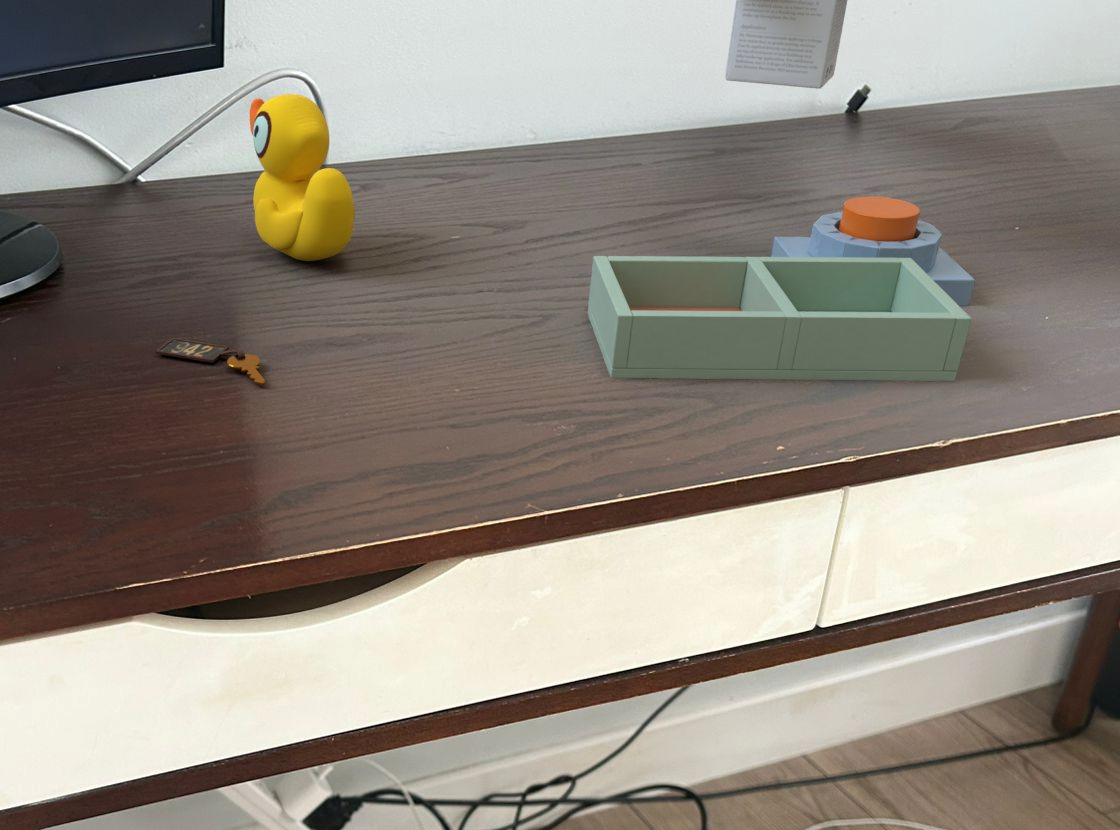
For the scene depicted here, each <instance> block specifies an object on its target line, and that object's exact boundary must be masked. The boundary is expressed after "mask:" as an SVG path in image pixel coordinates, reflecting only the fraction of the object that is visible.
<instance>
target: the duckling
mask: <svg viewBox="0 0 1120 830" xmlns="http://www.w3.org/2000/svg"><path fill="white" fill-rule="evenodd" d="M249 125H250V126H249V128H250V132H251V135H252V139H253V146H254V151H255V153H256V156H257V159H258V161H259V163H260V165H261V166H262V168H263V172H262V173H261V174H260V175H259V178H258V179H257V180H256V183H255V186H254V190H253V198H252V199H253V209H254V223H255V228H256V231H257V233H258V235H259V237H260V239H261V241H263V242H264V243H266V244H267V245H268V246H270V247H271V248H272V249H273V250H276V251H278V252H280V253H283V254H285V255H286V256H289V257H291V258H293V259H295V260H297V261H303V262H314V261H320V260H325V259H328V258H332V257H334V256H336V255H338V254H340V253H341V252H342V251H343V250H344V249H346V247H347V245H349V243H350V241H351V239H352V236H353V232H354V222H355V216H356V215H355V212H356V211H355V203H354V197H353V193H352V188H351V186H350V184H349V182H348V179H347V178H346V176H345V175H344V174H343V172H341V171H339V169H337V168H333V167H326V168H322V166H323V165H324V163H325V162H326V159H327V156H328V153H329V149H330V132H329V126H328V123H327V120H326V118H325V115H324V113H323V112H322V110H321V108H320V107H319V106H318V105H317V104H316V102H314V101H313V100H312V99H310V98H308V97H307V96H304V95H303V94H302V95H301V94H296V93H284V94H280V95H277V96H273V97H271V98H269V99H268V100H266V101H264V100H263V99H262V98H255V99H253V100H252V102H251V104H250V108H249ZM320 168H322V169H320Z"/></svg>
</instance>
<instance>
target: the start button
mask: <svg viewBox="0 0 1120 830" xmlns="http://www.w3.org/2000/svg"><path fill="white" fill-rule="evenodd" d="M842 211H843V212H842ZM842 211H841V212H842V217H841V222H840V226H839V232H841V233H844V234H847V235H849V236H852V237H855V238H859V239H865V240H871V241H878V242H902V241H907V240H911V239H914V235H915V231H916V227H917V223H918V220H919V219H920V215H921V214H920V213H921V210H920V207H918V205H915V204H913V203H912V202H909V201H905V200H902V199H898V198H894V197H893V198H892V197H886V196H858V197H853V198H850V199H847V200H846V201H845V202H844V203H843V207H842Z"/></svg>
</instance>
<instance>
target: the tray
mask: <svg viewBox="0 0 1120 830" xmlns="http://www.w3.org/2000/svg"><path fill="white" fill-rule="evenodd" d="M591 267H592V268H591V277H590V284H589V293H588V294H589V296H588V305H587V316H588V319H589V322H590V324H591V327H592V330H593V333H594V335H595V339H596V341H597V343H598V347H599V349H600V352H601V355H602V357H603V358H602V359H603V361H604V363H605V366H606V369H607V372H608V375H609V377H610V378H611V379H684V380H685V379H695V380H697V379H698V380H699V379H700V380H703V379H704V380H795V381H796V380H798V381H801V380H802V381H804V380H807V381H808V380H809V381H810V380H811V381H820V380H821V381H907V382H908V381H914V382H915V381H918V382H920V381H921V382H922V381H925V382H926V381H927V382H955V381H956V379H957V375H958V371H959V367H960V363H961V360H962V356H963V352H964V348H965V345H966V341H967V338H968V333H969V330H970V325H971V321H972V317H971V316H970V315H969V314H968V313H967V312H966V311H965V310H964V309H963V308H962V306H959V305H958V304H957V303H956V302H955V301H954V300H953V299H952V298H951V297H950V296H949V295H948V294H947V293H946V292H945V291H944V290H943V289H942V288H941V287H940V286H939V285H938V284H937V283H936V282H935V281H934V280H933V279H932V278H931V277H930V276H929V275H928V274H927V273H926V272H924V271H923V270H922V269H921V268H920V267H919V266H918V265H917V264H916V263H915V262H914V261H913V260H912V259H911V258H866V257H771V256H678V255H677V256H676V255H675V256H674V255H673V256H669V255H668V256H664V255H662V256H660V255H659V256H658V255H653V256H652V255H650V256H649V255H645V256H644V255H643V256H640V255H608V256H607V255H594V256H593V257H592V265H591Z"/></svg>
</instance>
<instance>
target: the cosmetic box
mask: <svg viewBox="0 0 1120 830" xmlns="http://www.w3.org/2000/svg"><path fill="white" fill-rule="evenodd" d="M847 5H848V0H735V5H734V13H733V19H732V26H731V34H730V40H729V48H728V54H727V61H726V67H725V76H724V77H725V80H726V81H728V82H729V81H730V82H739V83H740V82H742V83H749V84H750V83H752V84H763V85H774V86H775V85H776V86H786V87H793V88H795V87H796V88H806V89H823V87H825V85H826V84H827V83H828V82H829V81H830V80H831V79H832V78H833V77H834V76H835V71H836V66H837V61H838V54H839V49H840V44H841V38H842V33H843V27H844V21H845V16H846V12H847Z"/></svg>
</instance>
